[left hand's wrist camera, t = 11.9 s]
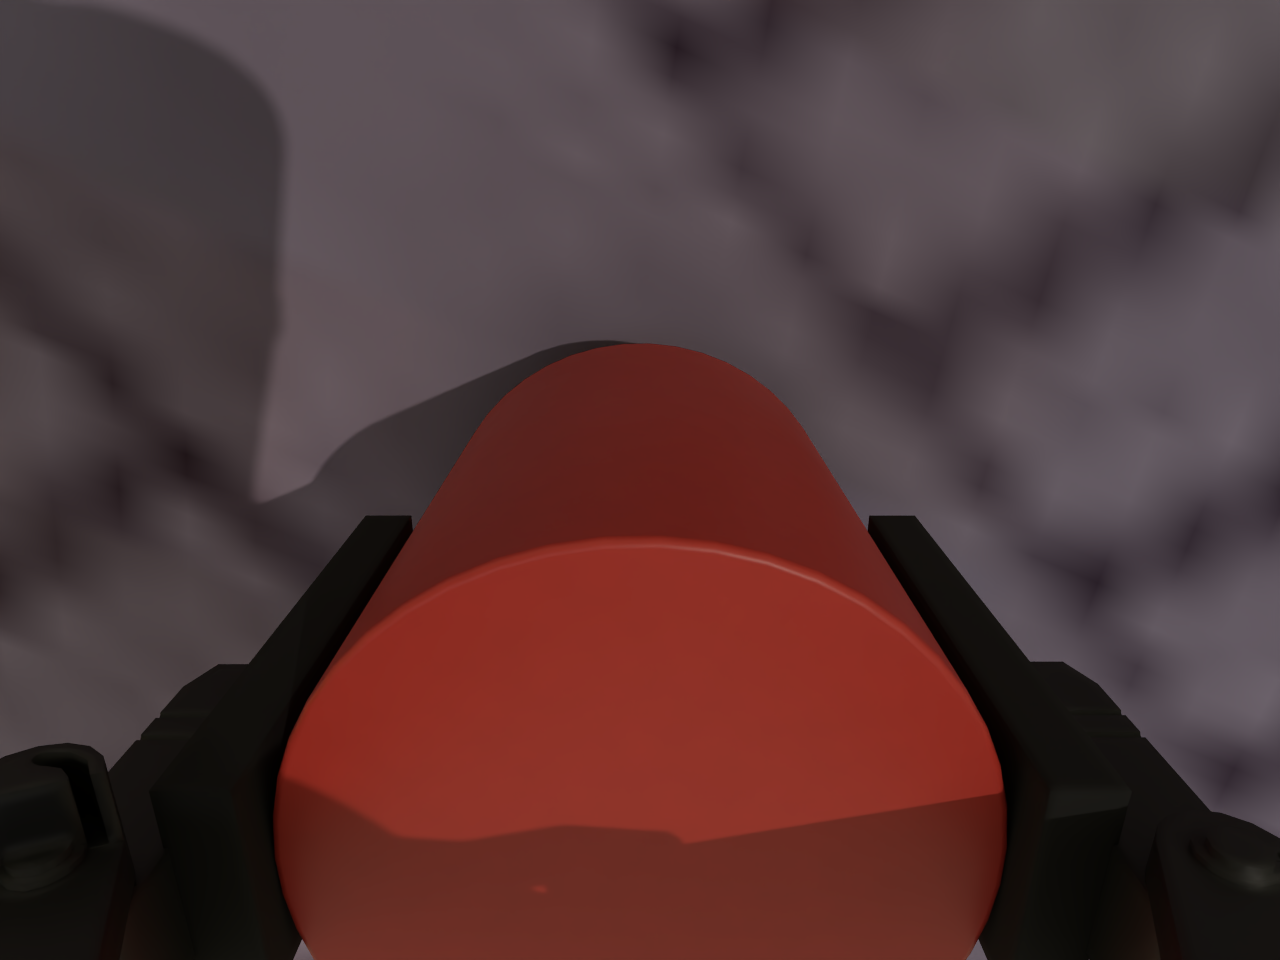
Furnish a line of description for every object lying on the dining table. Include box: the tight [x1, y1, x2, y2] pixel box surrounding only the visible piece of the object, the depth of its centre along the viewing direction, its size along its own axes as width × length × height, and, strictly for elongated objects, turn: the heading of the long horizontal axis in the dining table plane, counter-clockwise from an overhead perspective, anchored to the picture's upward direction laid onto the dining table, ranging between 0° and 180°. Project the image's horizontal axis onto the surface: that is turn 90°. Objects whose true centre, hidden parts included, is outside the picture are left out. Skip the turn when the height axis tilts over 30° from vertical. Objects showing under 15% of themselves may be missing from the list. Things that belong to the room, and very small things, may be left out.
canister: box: [273, 344, 1007, 960], centre depth 13 cm, size 8×8×9 cm
